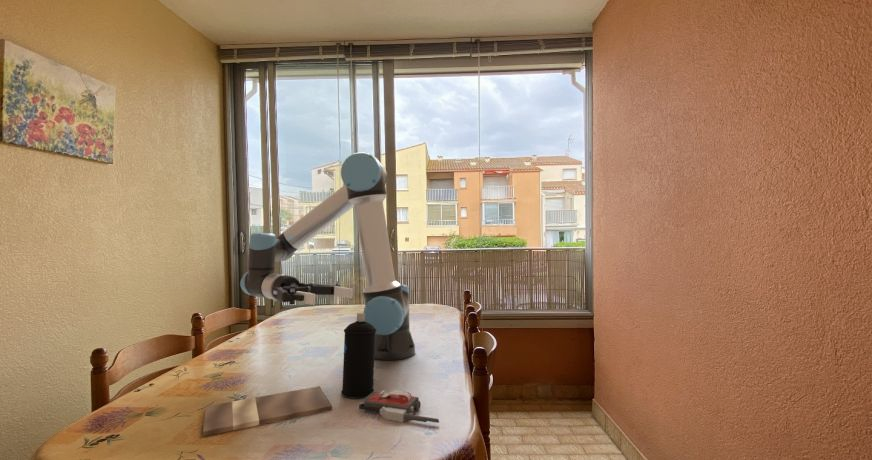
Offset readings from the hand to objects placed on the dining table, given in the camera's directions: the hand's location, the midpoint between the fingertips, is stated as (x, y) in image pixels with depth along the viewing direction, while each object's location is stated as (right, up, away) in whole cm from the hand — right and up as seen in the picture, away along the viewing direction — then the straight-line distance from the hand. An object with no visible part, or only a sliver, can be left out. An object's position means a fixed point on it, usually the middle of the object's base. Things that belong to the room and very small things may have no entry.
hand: (334, 296), depth 112 cm
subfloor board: (-12, -24, -15) cm, 30 cm away
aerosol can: (+7, -24, -5) cm, 25 cm away
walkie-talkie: (+19, -24, -17) cm, 35 cm away
